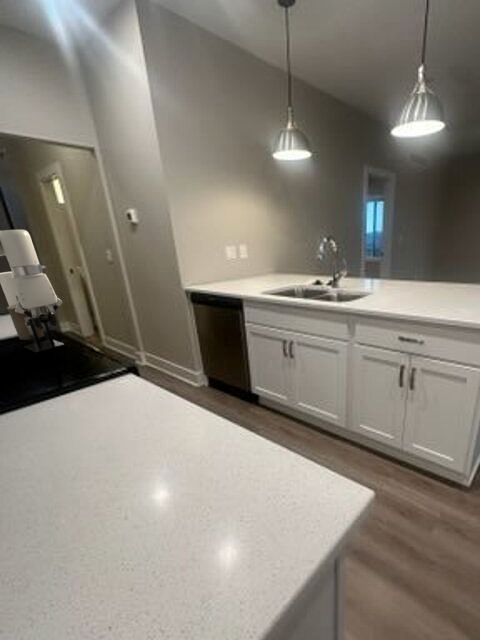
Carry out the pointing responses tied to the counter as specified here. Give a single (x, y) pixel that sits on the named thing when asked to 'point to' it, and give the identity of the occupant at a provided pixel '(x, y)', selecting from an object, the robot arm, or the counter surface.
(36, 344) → the bracket
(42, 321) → the lever
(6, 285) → the cylindrical container
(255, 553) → the counter surface
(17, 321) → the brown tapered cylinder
